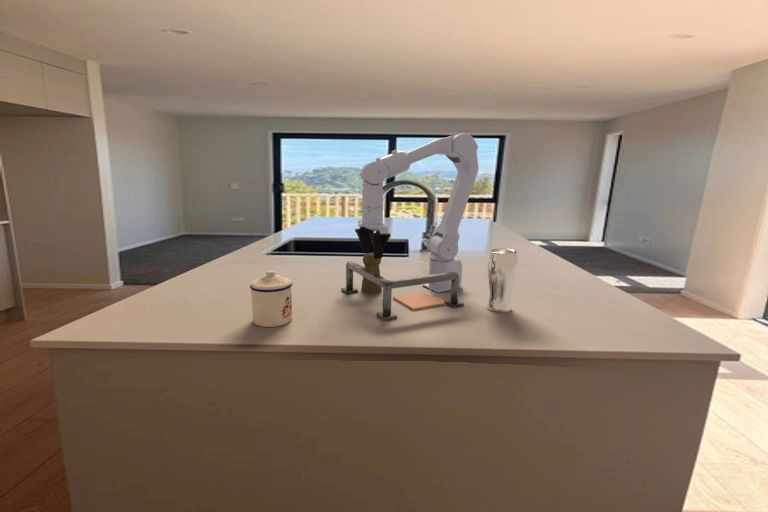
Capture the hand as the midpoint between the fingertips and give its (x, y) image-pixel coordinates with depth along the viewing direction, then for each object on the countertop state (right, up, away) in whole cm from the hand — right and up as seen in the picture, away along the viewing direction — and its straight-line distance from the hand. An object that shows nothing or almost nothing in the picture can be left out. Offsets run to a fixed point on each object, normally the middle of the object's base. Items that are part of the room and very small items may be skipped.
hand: (371, 255), depth 111 cm
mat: (+13, -12, -6) cm, 19 cm away
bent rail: (+8, -12, -4) cm, 14 cm away
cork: (0, -10, +2) cm, 11 cm away
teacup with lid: (-22, -15, -19) cm, 33 cm away
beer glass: (+33, -14, -10) cm, 37 cm away
